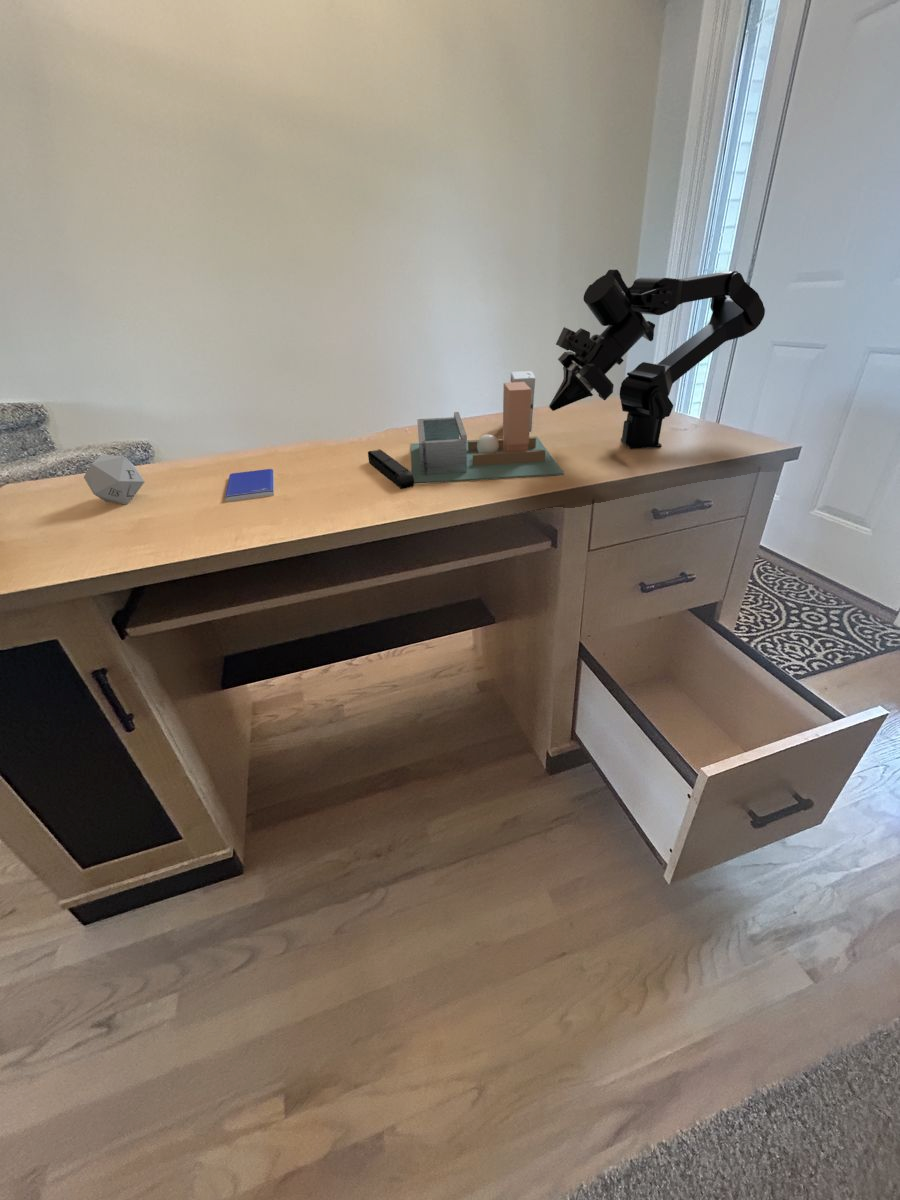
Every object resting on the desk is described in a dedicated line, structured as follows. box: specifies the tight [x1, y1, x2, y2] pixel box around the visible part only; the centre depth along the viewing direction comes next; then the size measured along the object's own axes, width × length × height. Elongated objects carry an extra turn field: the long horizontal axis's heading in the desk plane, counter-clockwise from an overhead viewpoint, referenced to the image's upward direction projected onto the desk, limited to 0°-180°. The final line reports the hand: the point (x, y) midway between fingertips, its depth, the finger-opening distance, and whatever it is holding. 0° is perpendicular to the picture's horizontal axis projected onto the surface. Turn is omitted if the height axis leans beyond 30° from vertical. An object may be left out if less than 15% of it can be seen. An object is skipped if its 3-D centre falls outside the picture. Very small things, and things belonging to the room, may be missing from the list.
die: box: [83, 454, 145, 505], centre depth 93 cm, size 8×9×10 cm
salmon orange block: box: [502, 382, 531, 452], centre depth 103 cm, size 4×7×13 cm, turn 4°
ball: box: [477, 433, 499, 453], centre depth 106 cm, size 4×4×4 cm
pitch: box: [410, 435, 565, 485], centre depth 106 cm, size 28×24×2 cm
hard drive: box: [224, 468, 275, 503], centre depth 98 cm, size 2×8×12 cm
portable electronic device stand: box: [367, 448, 415, 490], centre depth 101 cm, size 18×3×3 cm, turn 27°
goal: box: [416, 411, 468, 475], centre depth 104 cm, size 9×17×7 cm, turn 4°
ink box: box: [510, 370, 536, 433], centre depth 122 cm, size 9×5×12 cm, turn 179°
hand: (550, 408), depth 102 cm, fingers closed
